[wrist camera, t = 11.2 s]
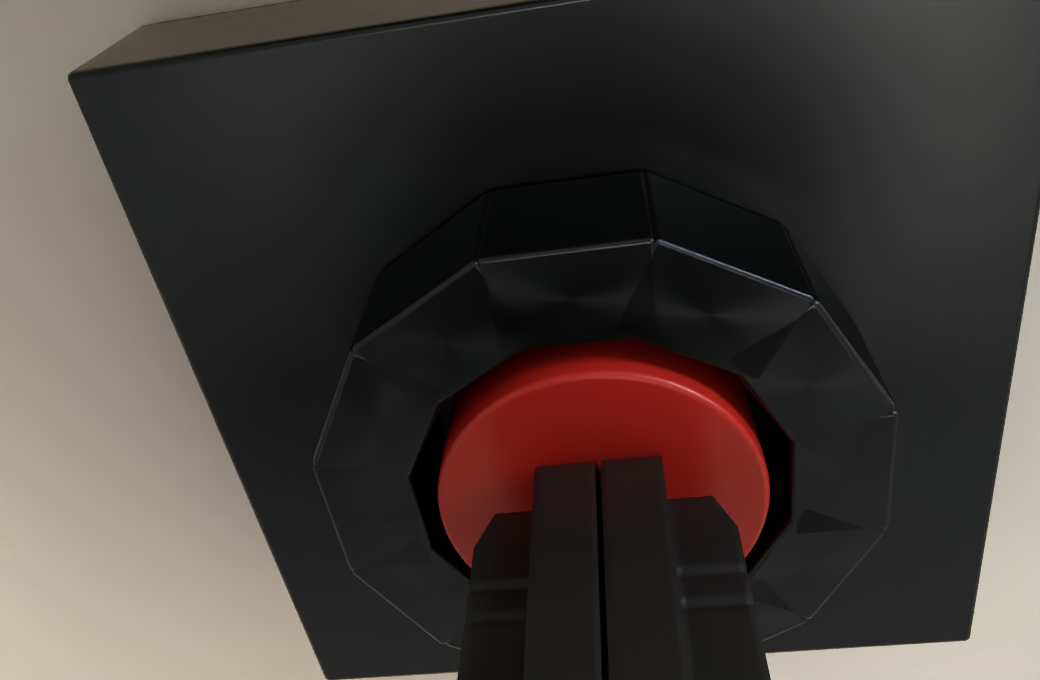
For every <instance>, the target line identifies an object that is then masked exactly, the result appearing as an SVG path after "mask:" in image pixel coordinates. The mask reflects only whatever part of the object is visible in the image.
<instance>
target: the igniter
mask: <svg viewBox="0 0 1040 680" xmlns="http://www.w3.org/2000/svg"><path fill="white" fill-rule="evenodd" d="M68 81H69V83H70V86H71V88H72V90H73V93H74V95H75V97H76V100H77V102H78V104H79V107H80V109H81V111H82V113H83V116H84V118H85V120H86V123H87V125H88V127H89V130H90V132H91V134H92V137H93V139H94V141H95V144H96V146H97V148H98V151H99V153H100V155H101V158H102V160H103V162H104V165H105V167H106V169H107V172H108V174H109V176H110V179H111V181H112V183H113V185H114V188H115V190H116V192H117V195H118V197H119V199H120V202H121V204H122V206H123V209H124V211H125V213H126V216H127V218H128V220H129V223H130V225H131V227H132V230H133V232H134V234H135V237H136V239H137V241H138V244H139V246H140V248H141V251H142V253H143V255H144V257H145V260H146V262H147V264H148V267H149V269H150V271H151V274H152V276H153V278H154V281H155V283H156V285H157V288H158V290H159V292H160V295H161V297H162V299H163V302H164V304H165V306H166V309H167V311H168V313H169V316H170V318H171V320H172V323H173V325H174V327H175V330H176V332H177V334H178V336H179V339H180V341H181V343H182V346H183V348H184V350H185V353H186V355H187V357H188V360H189V362H190V364H191V367H192V369H193V371H194V374H195V376H196V378H197V381H198V383H199V385H200V388H201V390H202V392H203V395H204V397H205V399H206V402H207V404H208V406H209V408H210V411H211V413H212V415H213V418H214V420H215V422H216V425H217V427H218V429H219V432H220V434H221V436H222V439H223V441H224V443H225V446H226V448H227V450H228V453H229V455H230V457H231V460H232V462H233V464H234V467H235V469H236V471H237V474H238V476H239V478H240V480H241V483H242V485H243V487H244V490H245V492H246V494H247V497H248V499H249V501H250V504H251V506H252V508H253V511H254V513H255V515H256V518H257V520H258V522H259V525H260V527H261V529H262V532H263V534H264V536H265V539H266V541H267V543H268V546H269V548H270V550H271V552H272V555H273V557H274V559H275V562H276V564H277V566H278V569H279V571H280V573H281V576H282V578H283V580H284V583H285V585H286V587H287V590H288V592H289V594H290V597H291V599H292V601H293V604H294V606H295V608H296V611H297V613H298V615H299V618H300V620H301V622H302V624H303V627H304V629H305V631H306V634H307V636H308V638H309V641H310V643H311V645H312V648H313V650H314V652H315V655H316V657H317V659H318V662H319V664H320V666H321V669H322V671H323V673H324V676H325V678H326V679H327V680H342V679H358V678H374V677H390V676H406V675H422V674H438V673H454V672H458V671H459V662H460V654H461V646H462V638H463V630H464V625H466V619H465V614H466V606H467V598H468V593H470V588H469V582H470V574H471V568H470V567H469V566H468V565H467V564H466V563H465V561H464V560H463V559H462V557H461V556H460V555H459V554H458V552H457V551H456V550H455V548H454V546H453V544H452V542H451V541H450V539H449V537H448V535H447V533H446V530H445V527H444V525H443V522H442V519H441V516H440V511H439V505H438V480H439V474H440V468H441V463H442V457H443V452H444V446H445V441H446V435H447V430H448V424H449V419H450V413H451V408H452V402H453V397H454V395H455V394H457V393H458V392H460V391H461V390H463V389H464V388H466V387H467V386H469V385H470V384H472V383H474V382H475V381H477V380H478V379H480V378H481V377H483V376H484V375H486V374H487V373H489V372H490V371H492V370H494V369H495V368H497V367H498V366H500V365H501V364H503V363H504V362H506V361H507V360H509V359H511V358H512V357H514V356H515V355H517V354H518V353H520V352H521V351H523V350H531V349H540V348H550V347H559V346H569V345H578V344H587V343H597V342H606V341H615V340H625V339H634V338H635V339H637V340H640V341H643V342H646V343H649V344H652V345H654V346H657V347H660V348H663V349H666V350H668V351H671V352H674V353H677V354H680V355H683V356H685V357H688V358H691V359H694V360H697V361H699V362H702V363H705V364H708V365H711V366H714V367H716V368H719V369H722V370H725V371H728V372H731V373H733V374H736V375H737V377H738V378H739V379H740V380H741V382H742V383H743V384H744V386H745V389H746V393H747V396H748V400H749V404H750V407H751V411H752V415H753V418H754V422H755V426H756V429H757V433H758V437H759V440H760V444H761V448H762V451H763V455H764V459H765V462H766V466H767V470H768V473H769V483H770V500H769V508H768V512H767V516H766V520H765V523H764V526H763V528H762V531H761V533H760V535H759V537H758V540H757V541H756V543H755V544H754V546H753V548H752V549H751V551H750V552H749V554H748V555H747V556H746V557H745V562H746V569H747V573H748V576H749V580H750V585H751V590H752V594H753V602H754V605H755V609H756V613H757V618H758V623H759V627H760V632H761V637H762V641H763V646H764V651H765V653H776V652H792V651H808V650H824V649H840V648H856V647H872V646H888V645H905V644H921V643H937V642H953V641H966V640H968V639H969V638H970V632H971V626H972V620H973V614H974V608H975V602H976V595H977V589H978V583H979V577H980V571H981V565H982V559H983V553H984V546H985V540H986V534H987V528H988V522H989V516H990V510H991V504H992V497H993V491H994V485H995V479H996V473H997V467H998V461H999V455H1000V448H1001V442H1002V436H1003V430H1004V424H1005V418H1006V412H1007V406H1008V400H1009V393H1010V387H1011V381H1012V375H1013V369H1014V363H1015V357H1016V351H1017V344H1018V338H1019V332H1020V326H1021V320H1022V314H1023V308H1024V302H1025V295H1026V289H1027V283H1028V277H1029V271H1030V265H1031V259H1032V253H1033V246H1034V240H1035V234H1036V228H1037V222H1038V216H1039V210H1040V0H301V1H294V2H288V3H282V4H276V5H270V6H263V7H257V8H251V9H245V10H238V11H232V12H226V13H220V14H214V15H207V16H201V17H195V18H189V19H182V20H176V21H170V22H164V23H158V24H151V25H145V26H142V27H140V28H139V29H137V30H136V31H134V32H133V33H131V34H129V35H128V36H126V37H125V38H123V39H122V40H120V41H119V42H117V43H115V44H114V45H112V46H111V47H109V48H108V49H106V50H105V51H103V52H101V53H100V54H98V55H97V56H95V57H94V58H92V59H91V60H89V61H88V62H86V63H84V64H83V65H81V66H80V67H78V68H77V69H75V70H74V71H72V72H71V73H69V75H68Z"/></svg>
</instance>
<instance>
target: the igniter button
mask: <svg viewBox="0 0 1040 680" xmlns="http://www.w3.org/2000/svg"><path fill="white" fill-rule="evenodd" d="M654 455H662V461H663V469H664V477H665V485H666V492H667V499H676V498H688V497H700V496H713V497H714V498H715V499H716V500H717V502H718V503H719V504H720V505H721V507H722V508H723V509H724V510H725V511H726V513H727V514H728V515H729V516H730V518H731V519H732V520H733V521H734V522H735V524H736V525H737V526H738V529H739V534H740V538H741V543H742V548H743V552H744V557H746V556H747V555H748V554H749V552H750V551H751V549H752V548H753V546H754V544H755V543H756V541H757V540H758V537H759V535H760V533H761V531H762V528H763V526H764V523H765V520H766V516H767V512H768V508H769V500H770V483H769V473H768V470H767V466H766V462H765V459H764V455H763V451H762V448H761V444H760V440H759V437H758V433H757V429H756V426H755V422H754V418H753V415H752V411H751V407H750V404H749V400H748V396H747V393H746V389H745V386H744V384H743V383H742V382H741V380H740V379H739V378H738V377H737V375H736V374H733V373H731V372H728V371H725V370H722V369H719V368H716V367H714V366H711V365H708V364H705V363H702V362H699V361H697V360H694V359H691V358H688V357H685V356H683V355H680V354H677V353H674V352H671V351H668V350H666V349H663V348H660V347H657V346H654V345H652V344H649V343H646V342H643V341H640V340H637V339H635V338H634V339H625V340H615V341H606V342H597V343H587V344H578V345H569V346H559V347H550V348H540V349H531V350H523V351H521V352H520V353H518V354H517V355H515V356H514V357H512V358H511V359H509V360H507V361H506V362H504V363H503V364H501V365H500V366H498V367H497V368H495V369H494V370H492V371H490V372H489V373H487V374H486V375H484V376H483V377H481V378H480V379H478V380H477V381H475V382H474V383H472V384H470V385H469V386H467V387H466V388H464V389H463V390H461V391H460V392H458V393H457V394H455V395H454V397H453V402H452V408H451V413H450V419H449V424H448V430H447V435H446V441H445V446H444V452H443V457H442V463H441V468H440V474H439V480H438V505H439V511H440V516H441V519H442V522H443V525H444V527H445V530H446V533H447V535H448V537H449V539H450V541H451V542H452V544H453V546H454V548H455V550H456V551H457V552H458V554H459V555H460V556H461V557H462V559H463V560H464V561H465V563H466V564H467V565H468V566H469V567H470V568H471V566H472V558H473V550H474V547H475V545H476V543H477V542H478V540H479V539H480V537H481V536H482V534H483V532H484V531H485V529H486V528H487V526H488V524H489V523H490V521H491V520H492V518H493V516H494V515H495V514H499V513H512V512H524V511H532V504H533V486H534V472H535V467H536V466H545V465H557V464H568V463H579V462H590V461H596V463H597V467H598V473H599V480H600V486H601V460H609V459H621V458H632V457H643V456H654ZM601 493H602V489H601Z"/></svg>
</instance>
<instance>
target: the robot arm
mask: <svg viewBox="0 0 1040 680" xmlns="http://www.w3.org/2000/svg"><path fill="white" fill-rule="evenodd" d="M601 489H602V493H601ZM469 588H470V593H468V598H467V606H466V614H465V619H466V625H464V630H463V638H462V646H461V654H460V662H459V671H458V679H457V680H771V679H770V674H769V669H768V665H767V660H766V655H765V651H764V646H763V641H762V637H761V632H760V627H759V623H758V618H757V613H756V609H755V605H754V602H753V594H752V590H751V585H750V580H749V576H748V573H747V569H746V562H745V557H744V552H743V548H742V543H741V538H740V534H739V529H738V526H737V525H736V524H735V522H734V521H733V520H732V519H731V518H730V516H729V515H728V514H727V513H726V511H725V510H724V509H723V508H722V507H721V505H720V504H719V503H718V502H717V500H716V499H715V498H714V497H713V496H700V497H688V498H676V499H667V492H666V485H665V477H664V469H663V461H662V455H654V456H643V457H632V458H621V459H609V460H601V486H600V480H599V473H598V467H597V463H596V461H590V462H579V463H568V464H557V465H545V466H536V467H535V472H534V486H533V504H532V511H524V512H512V513H499V514H495V515H494V516H493V518H492V520H491V521H490V523H489V524H488V526H487V528H486V529H485V531H484V532H483V534H482V536H481V537H480V539H479V540H478V542H477V543H476V545H475V547H474V550H473V558H472V566H471V574H470V582H469Z"/></svg>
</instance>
